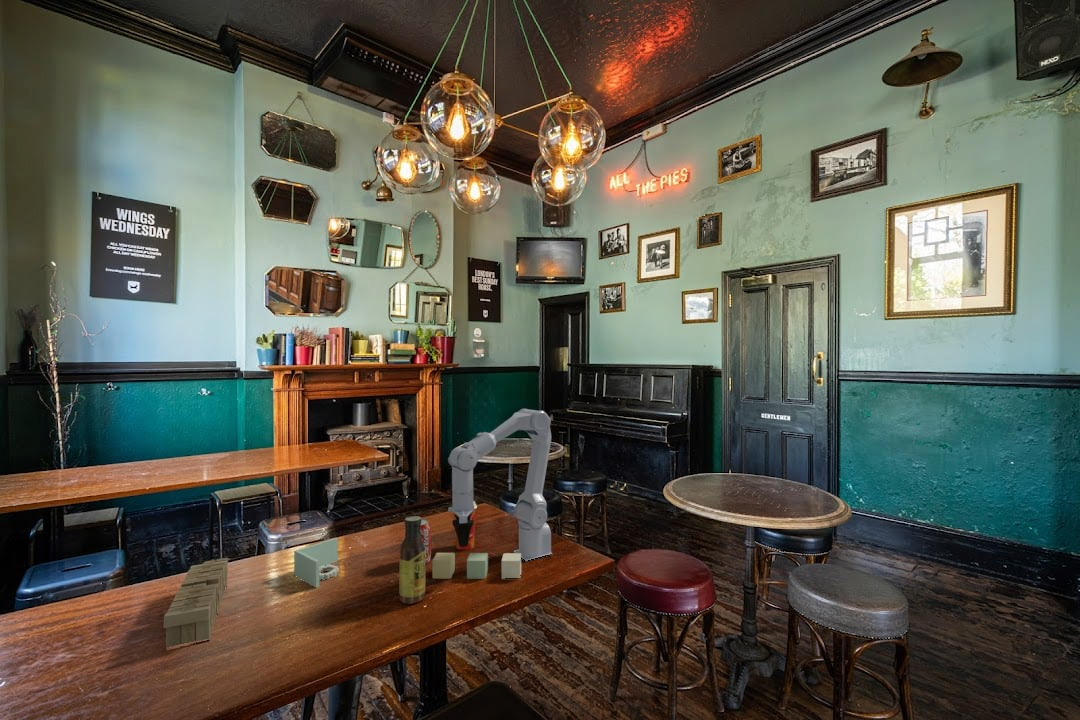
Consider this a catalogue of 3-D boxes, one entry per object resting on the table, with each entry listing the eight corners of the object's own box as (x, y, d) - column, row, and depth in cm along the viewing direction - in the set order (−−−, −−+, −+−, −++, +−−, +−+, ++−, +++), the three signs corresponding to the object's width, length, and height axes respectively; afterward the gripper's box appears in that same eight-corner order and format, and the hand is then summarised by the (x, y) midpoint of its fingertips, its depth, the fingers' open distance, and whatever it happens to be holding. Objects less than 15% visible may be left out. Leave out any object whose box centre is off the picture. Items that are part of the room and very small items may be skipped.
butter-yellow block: (454, 570, 131) (454, 552, 131) (450, 578, 126) (450, 560, 126) (437, 570, 131) (437, 552, 131) (432, 578, 126) (432, 560, 126)
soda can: (434, 558, 139) (434, 518, 139) (426, 568, 132) (425, 526, 132) (411, 557, 140) (411, 517, 140) (402, 567, 133) (402, 525, 133)
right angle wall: (316, 590, 121) (316, 561, 121) (294, 577, 128) (294, 550, 128) (358, 573, 130) (358, 547, 130) (335, 563, 137) (335, 537, 138)
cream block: (521, 571, 130) (521, 553, 130) (520, 579, 125) (519, 561, 125) (503, 571, 130) (503, 553, 130) (501, 579, 125) (501, 560, 125)
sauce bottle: (418, 606, 111) (417, 524, 111) (394, 604, 113) (394, 522, 113) (430, 593, 118) (429, 515, 118) (407, 591, 119) (407, 513, 119)
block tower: (192, 596, 119) (161, 656, 93) (192, 563, 119) (161, 614, 93) (228, 589, 123) (209, 645, 97) (228, 557, 123) (209, 604, 97)
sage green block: (487, 570, 131) (487, 553, 131) (485, 579, 126) (485, 560, 126) (470, 570, 131) (470, 553, 131) (467, 579, 126) (466, 560, 126)
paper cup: (448, 550, 145) (448, 505, 145) (459, 541, 152) (459, 498, 152) (471, 553, 143) (470, 507, 143) (481, 543, 150) (481, 500, 150)
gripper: (448, 485, 134) (449, 532, 134) (447, 499, 120) (447, 552, 120) (473, 483, 136) (473, 530, 136) (474, 498, 121) (475, 550, 121)
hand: (463, 540), depth 128 cm, fingers open, 7 cm apart
